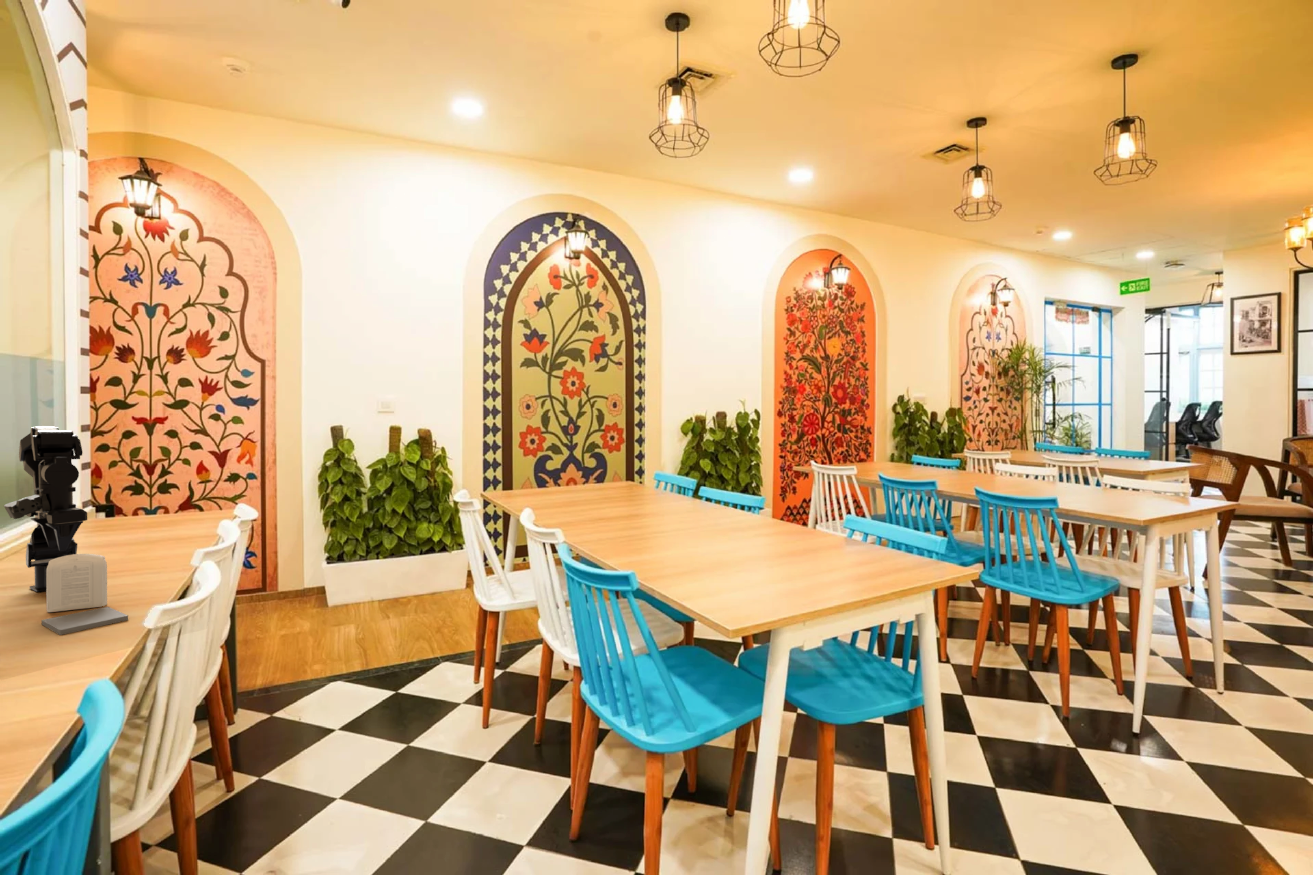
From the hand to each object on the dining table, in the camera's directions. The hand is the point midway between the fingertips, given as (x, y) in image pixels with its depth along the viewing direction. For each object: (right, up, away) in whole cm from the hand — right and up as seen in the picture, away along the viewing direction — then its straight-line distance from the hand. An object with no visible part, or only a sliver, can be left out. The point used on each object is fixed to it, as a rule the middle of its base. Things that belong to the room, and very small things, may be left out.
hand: (57, 548), depth 149 cm
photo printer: (+11, -13, -6) cm, 18 cm away
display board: (+21, -13, -16) cm, 29 cm away
